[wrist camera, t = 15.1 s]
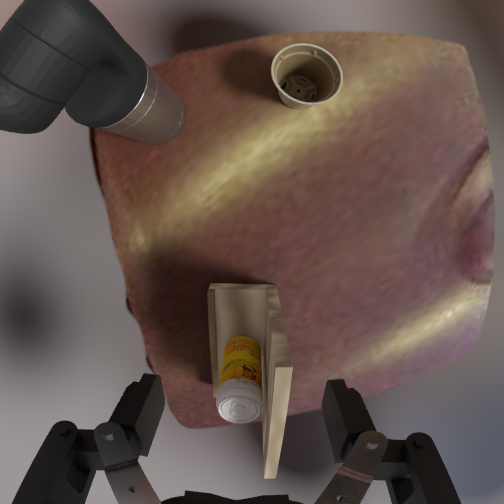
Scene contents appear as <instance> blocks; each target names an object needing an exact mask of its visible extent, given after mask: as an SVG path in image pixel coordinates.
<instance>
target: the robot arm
mask: <svg viewBox="0 0 504 504" xmlns="http://www.w3.org/2000/svg"><path fill="white" fill-rule="evenodd" d="M64 107H65V109H66V112H67V113H68V115H69V116H70V117H71V118H72V119H73V120H74V121H76V122H78V123H80V124H82V125H85V126H89V127H93V128H97V129H100V130H104V131H108V132H111V133H115V134H118V135H121V136H125V137H128V138H131V139H135V140H138V141H141V142H144V143H147V144H152V145H158V144H162V143H166V142H168V141H170V140H171V139H172V138H174V137H175V136H176V135H177V134H178V133H179V132H180V130H181V129H182V127H183V125H184V122H185V118H186V109H185V105H184V103H183V101H182V100H181V99H180V97H179V96H178V95H177V94H176V93H175V92H174V91H173V90H172V88H171V87H170V86H169V85H168V84H167V83H166V82H165V81H164V80H163V79H162V78H161V77H160V76H159V75H158V74H157V73H156V72H155V71H154V69H153V68H152V67H151V66H149V65H148V63H147V62H146V61H144V60H143V58H142V57H141V56H140V55H139V54H138V53H137V52H135V51H134V50H133V49H132V48H131V47H130V46H129V45H128V44H127V43H126V41H125V40H124V39H123V38H122V37H121V36H120V35H119V33H118V32H117V31H116V30H115V29H114V27H113V26H112V25H111V24H110V22H109V21H108V20H107V19H106V17H105V16H104V15H103V14H102V13H101V12H100V11H99V10H98V9H97V8H96V7H95V6H94V5H93V4H92V3H91V2H90V1H89V0H24V2H23V3H22V4H21V5H20V6H19V7H18V9H17V10H16V11H15V12H14V14H13V15H12V16H11V17H10V18H9V20H8V21H7V22H6V24H5V25H4V26H3V28H2V29H1V31H0V130H4V131H8V132H15V133H22V134H32V133H38V132H41V131H43V130H45V129H46V128H47V127H49V126H50V124H51V123H52V122H53V121H54V120H55V119H56V117H57V116H58V115H59V114H60V112H61V111H62V109H63V108H64ZM164 406H165V396H164V392H163V387H162V382H161V378H160V376H159V375H155V374H147V373H144V374H143V376H142V378H141V380H140V382H135V381H134V382H133V383H132V384H130V385H129V386H128V387H127V388H126V390H125V391H124V393H123V396H122V397H121V399H120V401H119V403H118V404H117V406H116V408H115V410H114V412H113V414H112V416H111V417H110V419H109V421H108V422H105V423H102V424H100V425H98V426H97V427H96V428H95V429H94V430H85V429H77V427H76V425H75V424H74V423H72V422H70V421H60V422H57V423H56V424H54V425H53V427H52V429H51V430H50V432H49V434H48V435H47V437H46V439H45V440H44V442H43V444H42V446H41V448H40V449H39V451H38V453H37V455H36V457H35V458H34V460H33V462H32V464H31V466H30V468H29V470H28V472H27V474H26V475H25V478H24V479H23V481H22V483H21V486H20V488H19V490H18V492H17V494H16V496H15V498H14V500H13V502H12V504H85V501H86V498H87V495H88V493H89V490H90V487H91V484H92V481H93V478H94V476H95V473H96V470H104V471H105V474H106V476H107V479H108V481H109V484H110V486H111V488H112V491H113V493H114V495H115V497H116V499H117V501H118V504H303V503H300V502H297V501H291V500H289V497H288V495H263V496H258V497H253V498H248V499H241V500H233V499H229V498H225V497H221V496H218V495H214V494H211V493H202V492H194V491H185V495H184V496H179V497H174V498H170V499H167V500H164V501H162V502H161V501H160V500H159V498H158V496H157V495H156V493H155V491H154V490H153V488H152V486H151V484H150V483H149V481H148V479H147V477H146V476H145V474H144V472H143V470H142V468H141V466H140V465H139V463H138V458H139V456H140V455H142V456H146V457H147V456H148V453H149V450H150V447H151V444H152V441H153V438H154V436H155V433H156V430H157V427H158V424H159V421H160V418H161V416H162V413H163V410H164ZM322 414H323V418H324V422H325V425H326V429H327V433H328V436H329V441H330V445H331V448H332V452H333V456H334V460H335V463H340V462H343V464H342V466H341V467H340V468H339V469H338V470H337V472H336V473H335V475H334V476H333V478H332V479H331V481H330V482H329V484H328V485H327V487H326V488H325V489H324V491H323V492H322V494H321V495H320V496H319V497H318V499H317V500H316V502H315V503H314V504H360V503H361V501H362V499H363V498H364V496H365V494H366V492H367V490H368V488H369V487H370V485H371V483H372V480H386V484H387V487H388V491H389V495H390V498H391V502H392V504H461V502H460V499H459V497H458V495H457V493H456V490H455V488H454V485H453V483H452V481H451V478H450V476H449V474H448V472H447V469H446V467H445V465H444V463H443V461H442V459H441V456H440V454H439V452H438V450H437V448H436V446H435V444H434V442H433V440H432V438H431V437H430V436H429V435H427V434H425V433H420V432H418V433H413V434H411V435H410V436H408V437H407V439H406V440H391V439H387V437H386V436H385V435H384V434H383V433H381V432H378V431H376V429H375V426H374V424H373V422H372V419H371V417H370V415H369V413H368V410H367V409H366V406H365V404H364V401H363V399H362V397H361V395H360V393H358V392H357V391H356V390H355V389H354V388H348V389H347V386H346V384H345V381H344V380H343V379H336V380H328V381H327V383H326V388H325V392H324V396H323V401H322Z"/></svg>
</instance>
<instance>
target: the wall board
mask: <svg viewBox="0 0 504 504" xmlns="http://www.w3.org/2000/svg"><path fill="white" fill-rule="evenodd" d="M207 297H208V319H209V338H210V355H211V369H212V383H213V395H214V398H217V393H218V387H219V381H220V374H221V368H222V362H223V355H224V349H225V346H226V344H227V342H228V341H229V340H231V339H232V338H235V337H238V336H246V337H250V338H252V339H254V340H255V341H256V342H257V343H258V344H259V346H260V348H261V366H262V391H263V408H262V422H263V451H264V478H265V479H266V478H276V473H277V468H278V462H279V457H280V451H281V445H282V439H283V433H284V427H285V420H286V414H287V407H288V400H289V392H290V385H291V377H292V369H293V366H292V361H291V356H290V351H289V346H288V341H287V336H286V331H285V326H284V321H283V316H282V312H281V307H280V302H279V297H278V292H277V288H276V285H271V284H225V283H211V284H210V286H209V289H208V291H207Z"/></svg>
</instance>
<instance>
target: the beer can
mask: <svg viewBox="0 0 504 504" xmlns="http://www.w3.org/2000/svg"><path fill="white" fill-rule="evenodd" d="M216 406H217V408H218V410H219V413H220V415H221V416H222V417H223V418H224V419H226V420H227V421H230V422H233V423H247V422H251V421H253V420H255V419H256V418H257V417H258V416H259V414H260V412H261V410H262V408H263V391H262V366H261V348H260V346H259V344H258V343H257V342H256V341H255V340H254V339H252V338H250V337H246V336H238V337H235V338H232V339H231V340H229V341H228V342H227V344H226V346H225V349H224V355H223V362H222V368H221V374H220V381H219V387H218V393H217V400H216Z"/></svg>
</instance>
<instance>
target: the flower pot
mask: <svg viewBox="0 0 504 504" xmlns="http://www.w3.org/2000/svg"><path fill="white" fill-rule="evenodd" d="M271 76H272V79H273V82H274V84H275V86H276V87H277V88H278V93H279V96H280V98H281V100H282V101H283V102H284V103H285V104H286V105H287V106H289V107H291V108H294V109H299V110H301V109H307V108H309V107H311V106H312V105H320V104H324V103H326V102H328V101H330V100H332V99H333V98H334V97H335V96H336V95H337V94H338V93H339V91H340V89H341V87H342V83H343V74H342V70H341V67H340V65H339V63H338V62H337V60H336V59H335V58H334V57H333V56H332V55H331V54H330V53H329V52H328V51H326V50H324V49H323V48H321V47H319V46H315V45H312V44H305V43H300V44H293V45H290V46H287V47H285V48H283V49H282V50H280V51H279V52H278V53H277V55H276V56H275V58H274V59H273V62H272V65H271ZM300 78H302V79H304V80H306V82H305V81H302V80H300ZM284 83H286V86H285V88H284V89H282V86H283V84H284ZM297 90H300V92H298V91H297ZM313 94H314V95H315V98H314V100H313V101H311V98H312V96H313Z"/></svg>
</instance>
